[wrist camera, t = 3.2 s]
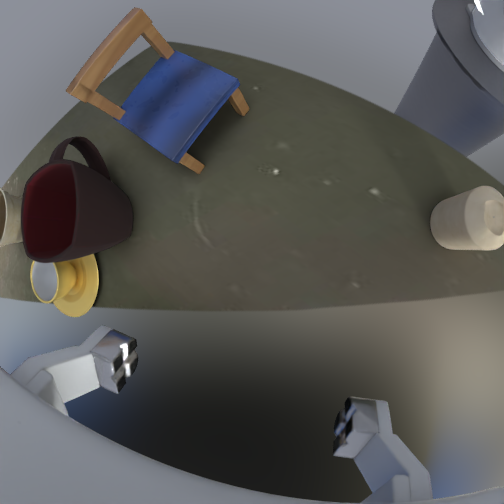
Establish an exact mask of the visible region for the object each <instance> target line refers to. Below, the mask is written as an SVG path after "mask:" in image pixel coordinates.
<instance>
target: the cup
mask: <svg viewBox="0 0 504 504" xmlns="http://www.w3.org/2000/svg"><path fill="white" fill-rule="evenodd" d="M30 278H31V285H32V288H33V291H34V293H35V295H36V296H37V298H38V299H39V300H40V301H41V302H43V303H51V302H53V303H54V304H55V306H56V307H57V308H58V309H59V310H60V311H61V312H62V313H64V314H65V315H68V316H71V317H79V316H82V315H83V314H85V313H87V312H88V311H89V310H90V308H91V307H92V305H93V303H94V301H95V298H96V295H97V291H98V268H97V263H96V259H95V256H94V254H91V255H88V256H85V257H81V258H77V259H73V260H68V261H63V262H54V263H39V262H36V261H34V260H33V262H32V265H31V272H30Z"/></svg>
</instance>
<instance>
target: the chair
mask: <svg viewBox="0 0 504 504" xmlns="http://www.w3.org/2000/svg"><path fill="white" fill-rule="evenodd" d="M140 35H142V36H143V37H144V38H145V40H146V41H147V42H148V43H149V44H150V45H151V46H152V47H153V48H154V49H155V51H156V52H157V53H158V54H159V55H160V56H161V58H160V59H159V60H158V61H157V62H156V63H155V65H154V66H153V67H152V68H151V69H150V71H149V72H148V73H147V74H146V75H145V77H144V78H143V79H142V80H141V81H140V83H139V84H138V85H137V87H136V88H135V89H134V90H133V92H132V93H131V94H130V96H129V97H128V98H127V100H126V101H125V102H124V104H123V105H122V106H121V108H120V107H119V106H117V105H116V104H114V103H113V102H111V101H109V100H108V99H106V98H105V97H103V96H102V95H100V94H99V93H97V92H96V91H95V90H96V89H97V87H98V86H99V85H100V83H101V82H102V81H103V79H104V78H105V77H106V75H107V74H108V73H109V71H110V70H111V69H112V68H113V66H114V65H115V64H116V63H117V61H118V60H119V59H120V58H121V57H122V55H123V54H124V53H125V52H126V51H127V50H128V48H129V47H130V46H131V45H132V44H133V43H134V42H135V41H136V39H137V38H138V37H139V36H140ZM239 86H240V83H239V81H238V79H237V78H235V77H233V76H231V75H229V74H227V73H225V72H223V71H220V70H218V69H216V68H214V67H212V66H210V65H208V64H205V63H203V62H201V61H199V60H197V59H194V58H192V57H190V56H187V55H185V54H183V53H180V52H178V51H175V50H173V49H172V48H171V47H170V45H169V44H168V43H167V42H166V41H165V39H164V38H163V37H162V36H161V34H160V33H159V32H158V31H157V30H156V28H155V27H154V26H153V25H152V21H151V20H150V18H149V17H148V16H147V15H146V14H145V13H144V11H143V10H142V9H140V8H134V9H132V10H131V11H130V12H129V13H128V14H127V15H126V16H125V18H124V19H123V20H122V21H121V22H120V23H119V24H118V25H117V26H116V27H115V28H114V29H113V30H112V32H111V33H110V34H109V35H108V36H107V37H106V39H105V40H104V41H103V42H102V43H101V44H100V46H99V47H98V48H97V49H96V50H95V51H94V53H93V54H92V55H91V56H90V58H89V59H88V60H87V62H86V63H85V64H84V66H83V67H82V68H81V69H80V71H79V72H78V74H77V75H76V77H75V78H74V79H73V81H72V82H71V83H70V85H69V86H68V88H67V89H66V92H68V93H69V94H71V95H72V96H74V97H76V98H78V99H79V100H81V101H83V102H85V103H87V102H89V103H91V104H92V105H94V106H96V107H97V108H99V109H101V110H103V111H104V112H106V113H108V114H109V115H111V116H113V119H115V120H116V121H118V122H119V123H120V124H122V125H123V126H125V127H126V128H127V129H129V130H130V131H132V132H133V133H134V134H136V135H137V136H139V137H140V138H141V139H143V140H144V141H146V142H147V143H148V144H150V145H151V146H152V147H154V148H155V149H157V150H158V151H159V152H161V153H162V154H163V155H165V156H166V157H168V158H169V159H170V160H172V161H173V162H175V163H177V164H178V162H179V163H181V164H183V165H184V166H186V167H188V168H189V169H191V170H193V171H194V172H196V173H198V174H199V173H200V172H201V171H202V169H203V168H204V167H205V165H203V164H202V163H201V162H199V161H198V160H196V159H195V158H194V157H192V156H191V155H189V154H188V153H187V152H186V151H187V150H188V149H189V147H190V146H191V145H192V143H193V142H194V141H195V140H196V138H197V137H198V136H199V134H200V133H201V132H202V130H203V129H204V128H205V127H206V125H207V124H208V123H209V122H210V120H211V119H212V118H213V117H214V115H215V114H216V113H217V112H218V110H219V109H220V108H221V107H222V106H223V104H224V103H225V102H226V101H227V100H229V101H230V103H231V105H232V106H233V108H234V110H235V111H236V112H237V113H238V114H240V115H242V116H244V115H245V114H246V113H247V112H248V111H249V107H248V105H247V103H246V101H245V99H244V97H243V95H242V93H241V91H240V89H239Z"/></svg>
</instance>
